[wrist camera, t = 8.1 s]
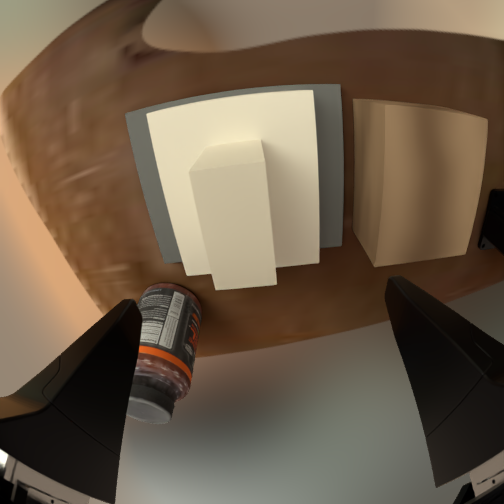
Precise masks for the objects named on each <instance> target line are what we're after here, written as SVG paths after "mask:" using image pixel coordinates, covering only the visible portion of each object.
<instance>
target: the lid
mask: <svg viewBox="0 0 504 504" xmlns="http://www.w3.org/2000/svg"><path fill="white" fill-rule="evenodd" d="M146 115H147V120H148V125H149V130H150V135H151V140H152V145H153V149H154V154H155V158H156V163H157V167H158V171H159V176H160V180H161V184H162V188H163V192H164V196H165V200H166V204H167V208H168V212H169V215H170V219H171V223H172V227H173V230H174V234H175V237H176V241H177V244H178V248H179V251H180V255H181V258H182V262H183V265H184V268H185V271H186V275H187V276H191V275H203V274H212V277H213V281H214V285H215V289H216V290H225V289H236V288H248V287H258V286H269V285H277V279H276V267H285V266H295V265H304V264H314V263H319V179H318V155H317V136H316V121H315V108H314V96H313V90H292V91H277V92H265V93H255V94H246V95H238V96H230V97H223V98H217V99H211V100H205V101H199V102H194V103H189V104H184V105H179V106H175V107H170V108H166V109H161V110H158V111H154V112H151V113H147V114H146Z"/></svg>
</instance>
